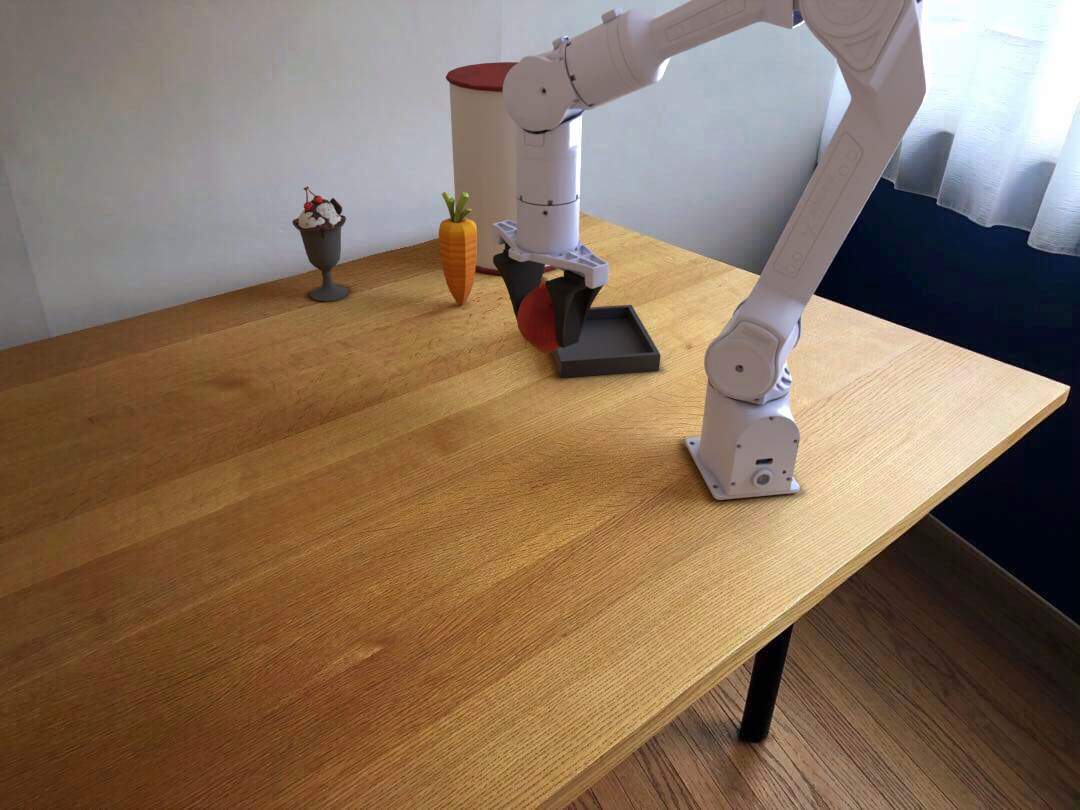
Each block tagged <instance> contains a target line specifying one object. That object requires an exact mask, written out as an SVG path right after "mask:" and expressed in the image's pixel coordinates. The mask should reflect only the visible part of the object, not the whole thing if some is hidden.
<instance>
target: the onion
mask: <svg viewBox="0 0 1080 810" xmlns="http://www.w3.org/2000/svg"><path fill="white" fill-rule="evenodd" d="M549 280H551V279H550V278H549V277H547V276H542V277H541V283H540V286H538V287H536V288H534V289H533V290H532V291H531V292H529V293H528V294H527V295H526V296H525V297H524V299H523V300H522V302H521V304H520V307H519V311H518V316H517V320H516V323H517V328H518V330H519V333H520V334H521V336H522V338H524V340H526V342H528V343H529V344H531V346H532V347H534V348H535V349H537V350H538V351H539V352H540V353H542V354H544V355H546V354H548V355H549V354H551V353H552V352H553V351H555V350H557V349H559V348H561V347H560V346H558V342H557V338H556V323H555V313H554V307H553V303H552V300H551V297H550V294H549V292H548V290H547V287H546V281H549Z"/></svg>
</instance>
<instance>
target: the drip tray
mask: <svg viewBox="0 0 1080 810" xmlns="http://www.w3.org/2000/svg"><path fill="white" fill-rule="evenodd" d="M551 354H552V357H553V359H554V363H555V365H556V368H557V371H558V374H559V376H560V378H561V379H565V378H566V379H567V378H577V377H578V378H579V377H591V376H604V375H605V376H606V375H619V374H631V373H646V372H657V371H658V372H659V371H660V367H661V366H660V365H661V353H660V350H659V349H658V348H657V345H656V344H655V343H654V341H653V339H652V338H651V335H650V334H649V332H648V330H647V329H646V327H645V325H644V323H643V322H642V320H641V318H640V317H639V314H638V313H637V311H636V310H635V308H634V306H633V305H632V304H623V305H622V304H621V305H605V306H591V307H590V309H589V311H588V314H587V316H586V319H585V322H584V325H583V328H582V331H581V334H580V338H579V341H578V343H575V344H573V345H570V346H568V347H565V348H562V347H561V348H559V349H557V350H555V351H553V352H551Z"/></svg>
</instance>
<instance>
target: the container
mask: <svg viewBox="0 0 1080 810" xmlns="http://www.w3.org/2000/svg"><path fill="white" fill-rule="evenodd" d="M519 62H520V61H502V62H499V61H498V62H484V63H476V64H475V63H474V64H469V65H463V66H459V67H456V68H454V69H451V70H449V71H448V72H447V73H446V75H445V80H446V81H447V82H448V83H449V84H448V85H449V103H450V122H451V123H450V124H451V145H452V146H451V147H452V160H453V161H452V165H453V185H454V199H455V204H454V210H456V206H457V203H458V201H459V198H460V196H461V194H462V193H463V192H465V193H467V194H468V195H469V198H468V200H467V202H466V204H465V206H464V208H463V210H462V212H463V211H464V210H465V209H467V208H470V209H471V211H470V212H469V213H468V214H467V215H466V216H465V217H464V218H467V219H470V220H472V221H474V222H475V224H476V228H477V258H476V269H475V272H479V273H483V274H489V275H495V276H501V274H500V273H499V271H498V269H497V268H496V266H495V265H494V263H493V256H494V255H496V254H499V253H503V250H504V249H505V244H503V245H497V244H495V243H493V229H492V224H495V223H498V222H502V221H506V220H510V221H512V222H516V223H517V214H516V134H515V122H514V121H513V120H512V118H511V117H510V116H509V114H508V112H507V110H506V108H505V105H504V101H503V84H504V80H505V77H506V75H507V74H508V72H509V71H510V69H511V68H512V67H513V66H515V65H516V64H517V63H519ZM556 269H557V268H555V267H553V266H551V265H546V264H545V267H544V271H543V273H546V272H551V271H555V270H556Z"/></svg>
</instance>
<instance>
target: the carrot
mask: <svg viewBox="0 0 1080 810" xmlns="http://www.w3.org/2000/svg"><path fill="white" fill-rule="evenodd" d="M441 196H442V198H443V199H444V202H445V204H446V207H447V210H448V213H449V218H446V219H444V220H442V221H441V222H440V223H439V226H438V227H439V228H438V243H439V244H438V245H439V252H440V262H441V267H442V271H443V275H444V279H445V282H446V286H447V288H448V290H449V292H450V295H451V296H452V297H453V299H454V301H455V303H456V304H457V305H459V306H461V307H462V306H463V305H464V304H466V302H467V300H468V298H469V297H470V294H471V291H472V288H473V286H474V281H475V275H476V270H475V269H476V258H477V228H476V224H475V222H474V221H472V220H470V219H467V218H464V217H465V216H466V215H467V214H468V213H469V212H470V211H471V209H470V208H467V209H465V210H464V211H463V212H462V210H463V208H464V206H465V204H466V202H467V200H468V198H469V195H468V194H467V193H465V192H463V193H462V194H461V196H460V198H459V201H458V203H457V206H456V209H455V197H450V196H449V194H448V192H447V191H443V192H442V193H441Z"/></svg>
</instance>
